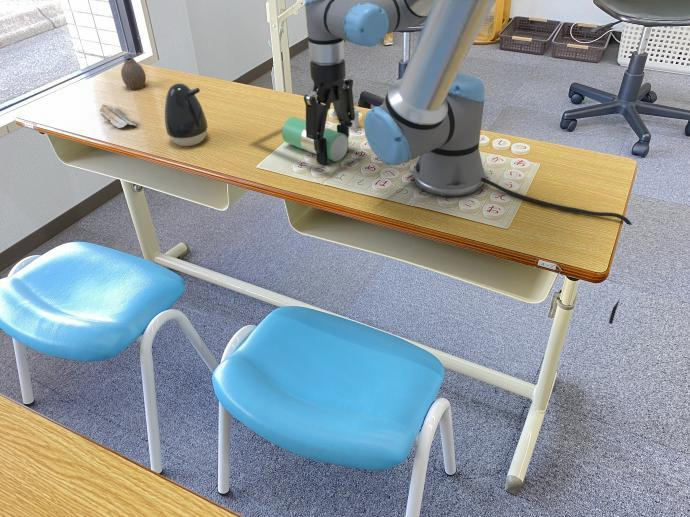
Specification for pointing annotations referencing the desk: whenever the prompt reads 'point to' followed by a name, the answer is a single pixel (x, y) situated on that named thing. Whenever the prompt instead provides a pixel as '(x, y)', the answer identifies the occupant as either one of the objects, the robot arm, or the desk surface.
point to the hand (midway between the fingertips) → (332, 156)
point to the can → (297, 137)
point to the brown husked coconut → (133, 74)
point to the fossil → (115, 116)
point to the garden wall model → (355, 122)
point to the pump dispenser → (184, 116)
